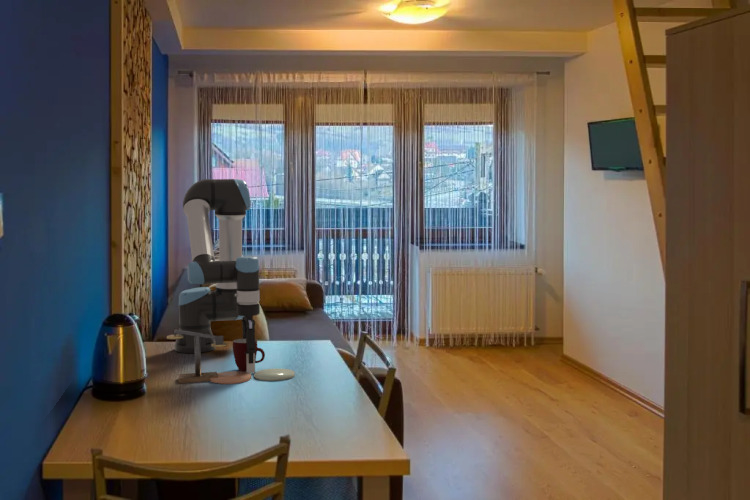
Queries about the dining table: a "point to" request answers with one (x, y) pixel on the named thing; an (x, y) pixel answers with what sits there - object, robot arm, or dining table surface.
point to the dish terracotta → (231, 377)
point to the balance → (198, 356)
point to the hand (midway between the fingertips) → (249, 369)
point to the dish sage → (274, 374)
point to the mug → (240, 355)
